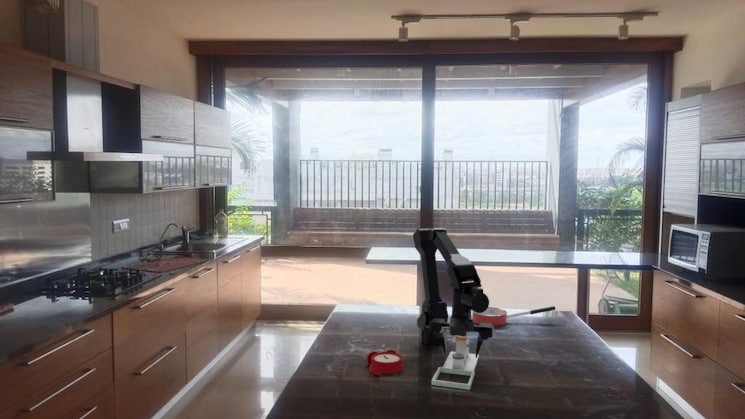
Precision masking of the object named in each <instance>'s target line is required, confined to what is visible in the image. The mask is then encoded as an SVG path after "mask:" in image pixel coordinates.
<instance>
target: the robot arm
mask: <svg viewBox="0 0 745 419" xmlns="http://www.w3.org/2000/svg"><path fill="white" fill-rule="evenodd" d="M447 232H448V231H447V230H446V228H445V227H432V228H418V229H416V230H415V232H413V235H412V240H413V243H414V247H415V250H416V251H417V252H418V254H419V255H420V260H421V268H422V269H421V270H422V278H423V288H424V290H423V291H424V300H423V303H422V305H421V313H420V315H419V316H418V318H417V320H416V323H417V324H416V325H417V328H419V329H421V344H423V345H426V346H431V347H432V346H441V347H442V349H443V352H444V355H447V354H448V352H447V351H448V344H447V342H448V341H447V330H449V335H450V336H457V335H458V336H462V337H464V336H467V335H468V334H467V333H478V335H477V342H476V347H475V354H476V358H477V356H478V354H479V353H480V350H481V348H482V345H483V343H484V342H485V341H488V340H489V339H490V338H494V334H495V333H494V332H495V327H494V325H493V324H492V323H480V325H477V324H475V323H474V320H473V319H472V311H475V312H477V313H483V312H484V311H486V310H487V308H488V307H490V299H489V297H488V295H487V294H486V293H484V289H483V288H482V283H481V282H482V280H481V278H480V275H479V274H478V271H477V269H476V266H475V264H474V263H473V262H472V261H471V260H470V259H469V258H468V257H465V256H463V255H462V254H461V253H460V251H459V250H458V248H457V247H456V246H455V244H454V243H453V241H452V240H451V239H450V237H449V235H448V233H447ZM437 251H438V252H439V254H440V255H441V256H442V259H443V260H444V261H445V263H446V265H447V267H446V268H447V269H446V272H447V275H448V277H449V279H450V281H451V283H450V284H448V286H449V287H450V288H452V291H451V292H452V296H451V297H452V298H451V316H450V318H449V313H448V304H447V302H446V301H443V300H442V298H441V296H440V286H439V285H440V283H439V278H438V277H439V276H438V268H437V257H436V253H437ZM449 319H450V320H449ZM448 320H449V322H448Z"/></svg>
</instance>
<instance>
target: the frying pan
mask: <svg viewBox="0 0 745 419" xmlns="http://www.w3.org/2000/svg"><path fill="white" fill-rule="evenodd" d="M555 310H556V306H555V305H554V306H553V305H552V306H548V307H541V308H537V309H531V310H528V311H524V312H518V313H517V312H516V313H512V314H508V312H507V311H506V310H505V309H502V308H498V307H493V306H491V307H490V306H488V308H487V310H486V311H484V312H483V313H477V312H475V311H472V310H471V319H473V320H474V325H476V326H480V323H492V324H493V325H494V328H498V327H503V326H505V325H506V324H507V323H508V322H507V321H508V320H507V319H510V318H515V317H520V316H525V315H526V316H527V315H534V314H541V313H546V312H551V311H555Z"/></svg>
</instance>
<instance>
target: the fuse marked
mask: <svg viewBox="0 0 745 419" xmlns="http://www.w3.org/2000/svg"><path fill="white" fill-rule="evenodd" d="M467 342H468V336H467V335H466V336H464V337H462V336H458V335H455V352H456V353H460V354H463V355H464V364H466V351H467Z"/></svg>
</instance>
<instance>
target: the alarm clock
mask: <svg viewBox="0 0 745 419" xmlns="http://www.w3.org/2000/svg"><path fill="white" fill-rule="evenodd" d="M403 360H404V359H403V356H402V355H401V354H400V353H398V352H396V351H395V350H394V349H387V350H386V351H379V352H377V351H374V350H372V351H370V352H369V353H368V354H367V356H366V362H367V364H368V365H369V368H368V370H369V373H371V374H373V375H376V376H380V377H381V375H383V374H395V373H400V372H401V371H403V370H404V369H405V367H406V366H405V365H404V363H403V362H404V361H403Z"/></svg>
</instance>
